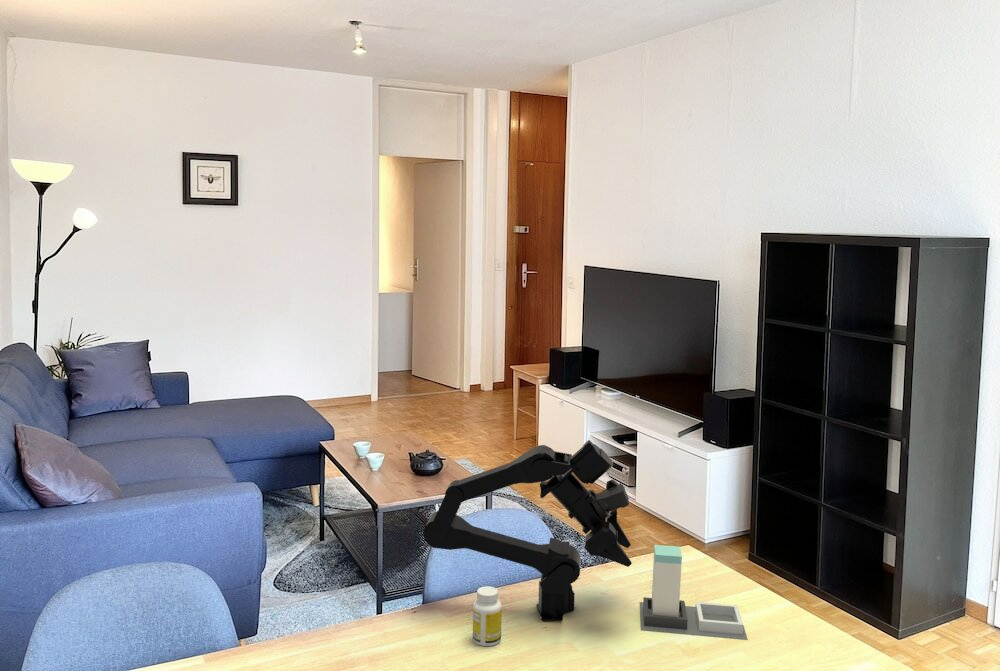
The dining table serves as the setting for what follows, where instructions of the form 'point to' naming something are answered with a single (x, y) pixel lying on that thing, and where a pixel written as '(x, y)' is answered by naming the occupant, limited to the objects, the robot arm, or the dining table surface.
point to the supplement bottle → (487, 617)
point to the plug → (666, 581)
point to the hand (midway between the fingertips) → (629, 555)
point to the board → (696, 620)
